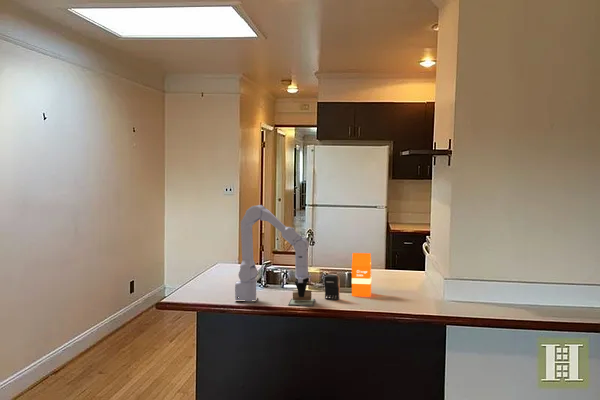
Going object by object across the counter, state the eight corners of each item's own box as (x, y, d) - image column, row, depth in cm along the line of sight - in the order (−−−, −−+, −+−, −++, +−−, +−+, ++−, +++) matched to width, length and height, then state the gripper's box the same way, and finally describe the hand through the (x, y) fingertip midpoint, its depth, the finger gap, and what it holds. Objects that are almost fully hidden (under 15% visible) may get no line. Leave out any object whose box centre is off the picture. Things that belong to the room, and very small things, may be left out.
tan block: (310, 300, 232) (310, 292, 231) (292, 300, 232) (292, 292, 232) (311, 298, 236) (311, 290, 236) (293, 297, 237) (293, 290, 237)
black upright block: (322, 299, 240) (322, 275, 239) (326, 298, 243) (326, 273, 243) (337, 301, 237) (336, 276, 236) (340, 299, 240) (340, 274, 240)
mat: (288, 305, 229) (288, 304, 229) (291, 299, 240) (291, 298, 240) (313, 306, 228) (313, 304, 228) (315, 300, 239) (315, 298, 239)
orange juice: (370, 296, 245) (370, 254, 244) (351, 296, 247) (351, 254, 246) (371, 293, 253) (371, 252, 252) (353, 292, 254) (353, 251, 253)
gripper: (309, 268, 226) (309, 299, 227) (311, 262, 240) (312, 292, 241) (293, 268, 227) (293, 299, 227) (296, 262, 241) (296, 291, 242)
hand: (301, 295), depth 234 cm, fingers closed on tan block, 4 cm apart
